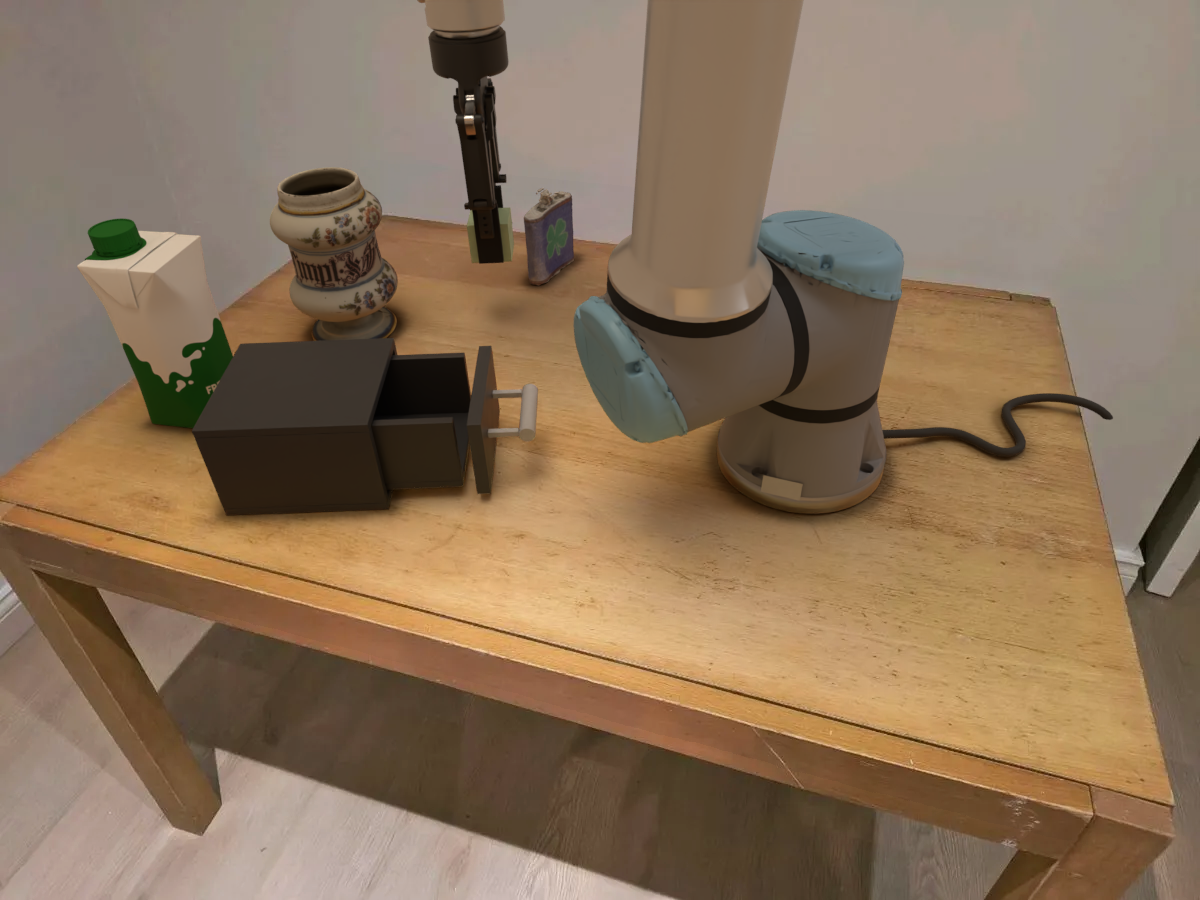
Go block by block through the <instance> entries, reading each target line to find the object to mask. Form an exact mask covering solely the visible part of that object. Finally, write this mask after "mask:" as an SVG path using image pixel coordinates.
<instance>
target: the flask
mask: <svg viewBox="0 0 1200 900" xmlns="http://www.w3.org/2000/svg"><path fill="white" fill-rule="evenodd" d="M535 194H536V195H538V194H540V197H539V199H538V202H537V203H535V205H534V206H533V207H531V208H530V209H529V210H528V211H527V212H525V214H524V215H523V225H524V235H525V248H526V260H527V261H526V263H527V272H528V274H527V277H528V281H529V284H530V285H533V286H534V285H536V286H538V287H539V286H541V285H543V284H546V283H548V282H549V281H550V279H551V278H553V277H554V276H556V275H558V274H559V273H560V272H561V269H565V267H566V266H568V265H570V264H571V263H573V262H574V261H575V252H574V247H575V246H574V223H573V222H574V221H573V220H574V219H573V196H572V194H571V193H570V192H567V191H561V190H560V191H555V192H553V193H552V192H550V191H549V190H548V188H546V189H545V188H544V187H541V188H539V189H537V191H536V193H535Z"/></svg>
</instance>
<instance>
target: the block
mask: <svg viewBox="0 0 1200 900" xmlns="http://www.w3.org/2000/svg"><path fill="white" fill-rule="evenodd" d="M498 211H499V220H500V229H501V238H502V247H503V256H504V263H511V262H513V257H514V249H515V239H514V228H513V219H512V210H511V207H503V208H498ZM466 231H467V238H468V239H467V240H468V247H469V252H470V259H471V264H479V258H478V251H477V243H476V236H475V228H474V221H473V213H472V210H470V209H469V214H468V218H467V223H466Z"/></svg>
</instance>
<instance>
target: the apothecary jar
mask: <svg viewBox="0 0 1200 900" xmlns="http://www.w3.org/2000/svg"><path fill="white" fill-rule="evenodd" d="M276 191H277V197H278V199H277V203H276V204H275V205H274V207H273V208H272V210H271V213H270V215H269V227H270V229H271V231H272V233H273V235H274V236H275V237H276V238H277V239H278V240H280V241H281V242H282V243H284V244H286V245H287V247H288V250H289V253H290V256H291V260H292V265H293V269H294V273H295V275H294V276H293V278H292V280H291V282H290V285H289V298H290V300H291V302H292V304H293V306H294V307H295V308H296V309H297V310H298V311H299V312H301V313H302V314H304V315H306V316H308V317H309V318H312V319H314V320H316V321H315V322H314V324H313V326H312V328H311V338H312V339H313V341H325V340H352V339H379V338H389V336H391V335H392V333H393V332H394V331H395V329H396V327H397V323H398V322H397V317H396V315H395V313H394V312H393V311H392V310H390V309H389V308H387V307H385V306H386V305H387V304H388V303H389V302H390V301H391V300H392V298H393V297H394V295H395V294H396V291H397V288H398V283H399V281H398V280H399V279H398V274H397V272H396V270H395V268H394V267H393V265H392V264H391V263H390V262H389V261H388V260H386V259H385V258H384V257H382V254H381V251H380V247H379V244H378V239H377V234H376V229H377V228H378V227H379V225H380V223H381V221H382V218H383V207H382V205H381V202H380V200H379V199H378V198H377V197H376V196H375V194H373V193H372V192H371V191H369V190H368V189H365V187H364V186H363V185H362V183H361V180H360V177H359V175H358V173H356V172H355V171H353V170H351V169H349V168H344V167H337V166H336V167H335V166H332V167H331V166H328V167H318V168H317V167H316V168H311V169H307V170H303V171H299V172H297V173H294V174H292V175H290V176H287V177H286V178H284V179H282V180H281V181H280V182H279V183H278V185H277V188H276Z"/></svg>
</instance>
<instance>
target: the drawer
mask: <svg viewBox="0 0 1200 900" xmlns="http://www.w3.org/2000/svg"><path fill="white" fill-rule="evenodd" d="M493 354H494V353H493V346H492V345H479V346H478V349H477V357H476V363H475V369H474V375H473V382H472V388H471V386H470V379H469V373H468V372H469V371H468V364H467V359H466V353H465V352H442V353H441V352H440V353H415V354H414V353H413V354H411V353H410V354H397V355H392V357H391V360H390V364H389V367H388V370H387V374H386V377H385V380H384V384H383V387H382V390H381V394H380V397H379V400H378V404H377V407H376V410H375V414H374V417H373V420H372V424H371V429H372V433H373V437H374V441H375V445H376V449H377V453H378V457H379V461H380V465H381V469H382V473H383V478H384V482H385V486H386V490H390V489H393V490H414V489H415V490H417V489H439V488H440V489H442V488H443V489H444V488H462V487H464V483H465V476H466V469H467V463H468V456H469V449H470V456H471V461H472V462H471V463H472V469H473V475H474V482H475V488H476V494H477V495H491V493H492V486H493V477H494V467H495V457H496V450H497V442H498V441H497V440H498V438H517V437H518V438H519V439H520V440H521V441H523V442H526V443H527V442H532V441H533V440H535V438H536V435H537V434H536V433H537V419H538V418H537V417H538V402H539V401H538V400H539V389H538V387H537V385H535V384H534V383H526V384H524V385H523V386H522V388H516V389H515V388H513V389H512V388H511V389H498V386H497V378H496V370H495V361H494V355H493ZM517 398H519V399H521V401H520V411H519V412H520V413H519V425H518V427H503V428H499V424H500V423H499V422H500V413H501V411H500V403H499V402H500V401H499V399H517Z"/></svg>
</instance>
